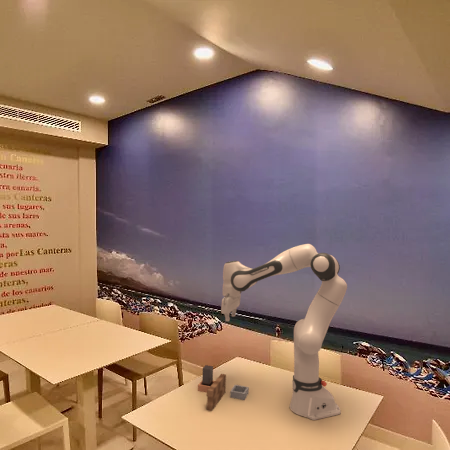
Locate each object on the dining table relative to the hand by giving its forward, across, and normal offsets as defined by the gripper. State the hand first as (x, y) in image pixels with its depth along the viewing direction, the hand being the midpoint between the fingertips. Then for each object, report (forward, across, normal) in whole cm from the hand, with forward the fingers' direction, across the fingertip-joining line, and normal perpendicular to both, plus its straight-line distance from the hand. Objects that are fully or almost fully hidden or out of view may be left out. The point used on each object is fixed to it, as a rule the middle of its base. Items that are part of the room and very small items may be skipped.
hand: (230, 318), depth 182 cm
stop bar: (+34, -9, +8) cm, 36 cm away
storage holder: (+34, -9, -8) cm, 36 cm away
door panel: (+34, -18, 0) cm, 39 cm away
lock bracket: (+34, -9, +9) cm, 36 cm away
